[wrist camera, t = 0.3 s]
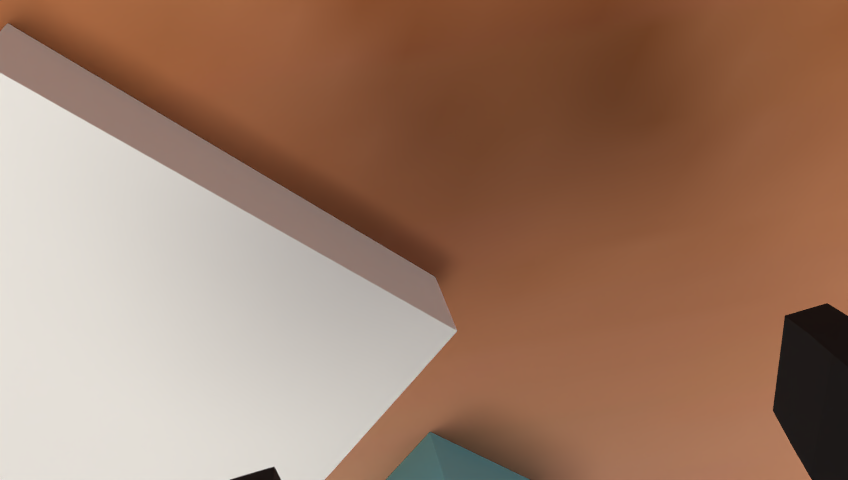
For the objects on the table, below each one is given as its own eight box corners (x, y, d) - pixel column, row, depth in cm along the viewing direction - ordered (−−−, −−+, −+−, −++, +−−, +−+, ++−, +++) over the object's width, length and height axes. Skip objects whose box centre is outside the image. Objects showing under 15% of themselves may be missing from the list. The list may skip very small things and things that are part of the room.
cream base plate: (202, 538, 26) (198, 621, 24) (-210, 396, 21) (-272, 483, 18) (432, 269, 23) (457, 330, 20) (12, 17, 18) (-25, 58, 15)
